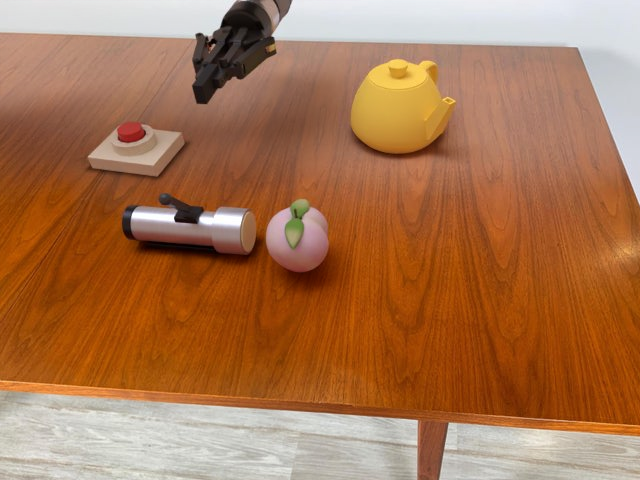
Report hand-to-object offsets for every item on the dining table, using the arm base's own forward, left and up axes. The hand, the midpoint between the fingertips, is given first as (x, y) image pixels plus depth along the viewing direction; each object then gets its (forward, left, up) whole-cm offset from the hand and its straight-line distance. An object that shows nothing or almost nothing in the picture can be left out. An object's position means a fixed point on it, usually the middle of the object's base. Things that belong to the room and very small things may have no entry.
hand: (199, 94), depth 79 cm
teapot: (+25, +23, -17) cm, 38 cm away
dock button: (-19, +7, -13) cm, 24 cm away
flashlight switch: (+1, -12, -11) cm, 16 cm away
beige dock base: (-19, +7, -17) cm, 26 cm away
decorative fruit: (+17, -13, -17) cm, 27 cm away
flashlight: (0, -12, -17) cm, 21 cm away
